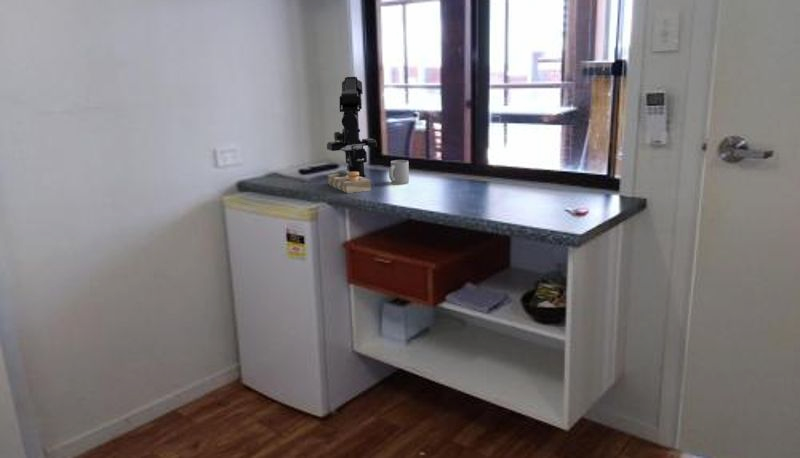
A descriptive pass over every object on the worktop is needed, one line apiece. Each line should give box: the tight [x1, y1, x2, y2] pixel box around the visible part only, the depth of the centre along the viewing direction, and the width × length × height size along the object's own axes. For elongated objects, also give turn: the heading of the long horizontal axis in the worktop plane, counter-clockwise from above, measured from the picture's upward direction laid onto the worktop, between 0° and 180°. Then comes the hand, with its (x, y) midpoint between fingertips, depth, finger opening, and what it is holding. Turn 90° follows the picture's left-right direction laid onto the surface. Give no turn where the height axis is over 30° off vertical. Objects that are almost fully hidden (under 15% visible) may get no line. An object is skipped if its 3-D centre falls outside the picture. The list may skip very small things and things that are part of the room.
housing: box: [327, 173, 372, 194], centre depth 248 cm, size 20×10×4 cm, turn 27°
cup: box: [388, 159, 410, 186], centre depth 252 cm, size 7×10×9 cm
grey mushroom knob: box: [337, 169, 349, 177], centre depth 252 cm, size 5×5×6 cm
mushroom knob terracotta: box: [347, 172, 359, 181], centre depth 243 cm, size 5×5×6 cm
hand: (352, 166), depth 241 cm, fingers closed
